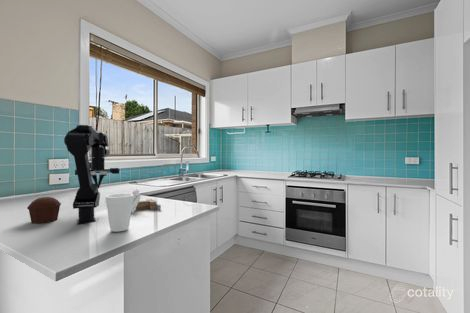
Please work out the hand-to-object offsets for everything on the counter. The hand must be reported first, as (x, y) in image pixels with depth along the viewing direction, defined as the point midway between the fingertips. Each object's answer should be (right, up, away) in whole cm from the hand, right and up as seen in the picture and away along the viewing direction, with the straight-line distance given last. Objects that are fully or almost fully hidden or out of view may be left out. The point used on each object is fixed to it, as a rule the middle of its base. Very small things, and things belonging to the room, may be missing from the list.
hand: (97, 188), depth 112 cm
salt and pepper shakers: (+14, -11, +2) cm, 18 cm away
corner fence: (+22, -12, +7) cm, 26 cm away
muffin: (-14, -12, -15) cm, 24 cm away
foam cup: (+24, -12, -26) cm, 37 cm away
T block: (+22, -12, +6) cm, 25 cm away
